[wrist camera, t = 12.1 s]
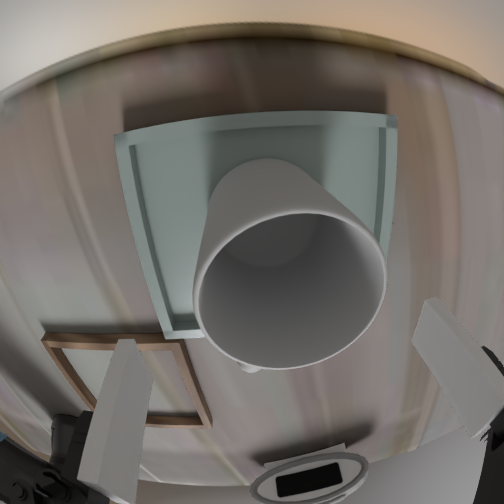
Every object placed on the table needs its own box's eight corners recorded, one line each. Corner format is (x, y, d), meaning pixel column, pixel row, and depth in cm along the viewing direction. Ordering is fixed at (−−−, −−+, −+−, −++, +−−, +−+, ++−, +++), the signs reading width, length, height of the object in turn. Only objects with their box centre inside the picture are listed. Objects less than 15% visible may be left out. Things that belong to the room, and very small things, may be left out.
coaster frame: (103, 414, 35) (101, 421, 33) (45, 332, 26) (40, 340, 25) (212, 419, 35) (212, 428, 34) (180, 332, 27) (179, 342, 25)
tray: (168, 325, 26) (165, 339, 25) (123, 132, 18) (113, 134, 16) (368, 302, 27) (376, 314, 25) (384, 114, 19) (397, 115, 17)
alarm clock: (359, 435, 43) (376, 489, 32) (360, 444, 46) (375, 493, 34) (247, 464, 45) (251, 517, 34) (257, 471, 48) (261, 520, 37)
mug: (223, 144, 18) (213, 176, 9) (335, 175, 20) (421, 235, 10) (191, 288, 24) (174, 397, 14) (287, 305, 25) (315, 409, 15)
